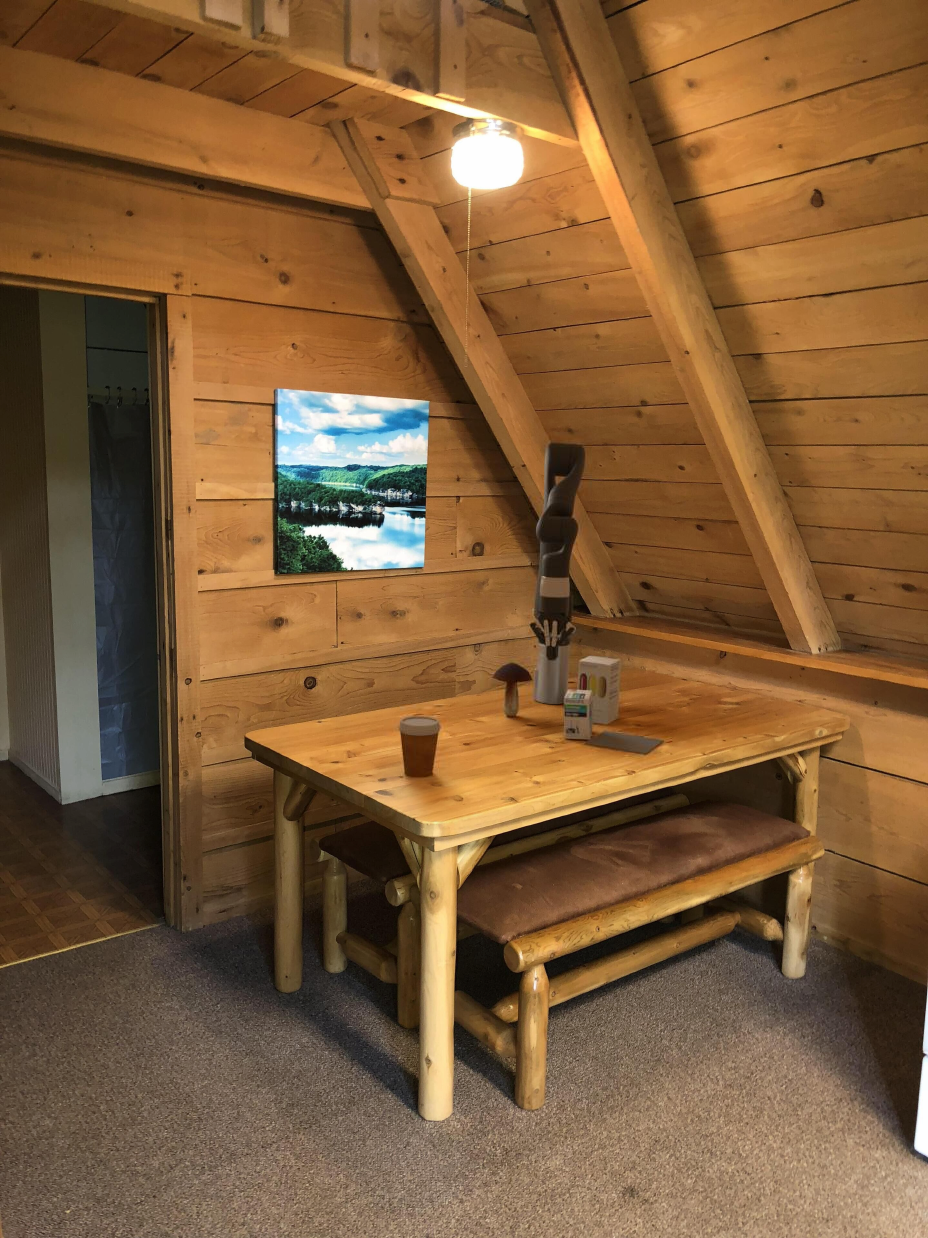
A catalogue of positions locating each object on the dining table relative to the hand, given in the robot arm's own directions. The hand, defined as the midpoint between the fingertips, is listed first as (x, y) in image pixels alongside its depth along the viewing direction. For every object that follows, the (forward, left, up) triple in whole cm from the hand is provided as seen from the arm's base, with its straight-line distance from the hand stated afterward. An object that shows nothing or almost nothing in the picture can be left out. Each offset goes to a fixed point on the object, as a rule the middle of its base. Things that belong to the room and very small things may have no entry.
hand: (551, 659), depth 259 cm
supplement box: (+6, +18, -19) cm, 27 cm away
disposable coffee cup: (-10, -50, -19) cm, 54 cm away
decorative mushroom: (-15, +7, -19) cm, 25 cm away
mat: (+21, 0, -19) cm, 28 cm away
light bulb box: (+8, 0, -19) cm, 21 cm away
